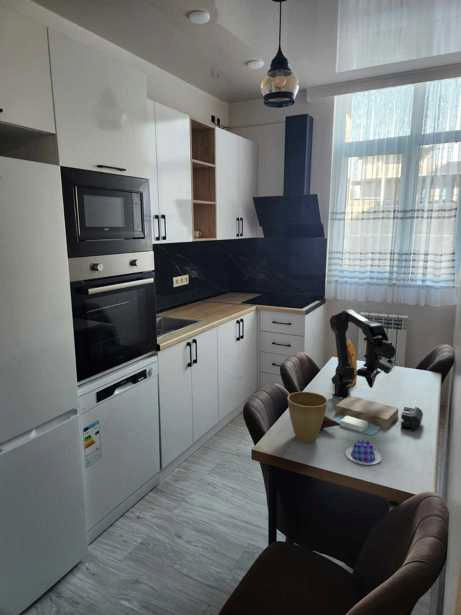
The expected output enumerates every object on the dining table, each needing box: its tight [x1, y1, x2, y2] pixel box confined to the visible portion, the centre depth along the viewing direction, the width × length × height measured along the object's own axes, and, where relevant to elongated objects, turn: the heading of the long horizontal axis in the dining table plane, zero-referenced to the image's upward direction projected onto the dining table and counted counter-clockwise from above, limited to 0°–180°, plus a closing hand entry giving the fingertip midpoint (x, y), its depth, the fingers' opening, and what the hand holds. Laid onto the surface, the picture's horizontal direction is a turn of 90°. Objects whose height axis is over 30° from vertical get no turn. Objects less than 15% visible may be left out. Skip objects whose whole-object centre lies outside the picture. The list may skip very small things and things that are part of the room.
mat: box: [332, 414, 382, 437], centre depth 165 cm, size 18×9×1 cm, turn 50°
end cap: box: [400, 406, 424, 432], centre depth 164 cm, size 10×7×7 cm
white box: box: [340, 416, 368, 432], centre depth 164 cm, size 9×6×2 cm, turn 50°
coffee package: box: [346, 339, 358, 387], centre depth 213 cm, size 10×12×22 cm
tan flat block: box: [335, 395, 399, 429], centre depth 174 cm, size 22×14×4 cm, turn 50°
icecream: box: [320, 415, 340, 431], centre depth 162 cm, size 7×7×15 cm
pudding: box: [345, 439, 382, 466], centre depth 142 cm, size 12×12×5 cm
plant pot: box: [287, 391, 328, 443], centre depth 154 cm, size 15×15×16 cm
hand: (370, 387), depth 175 cm, fingers closed
